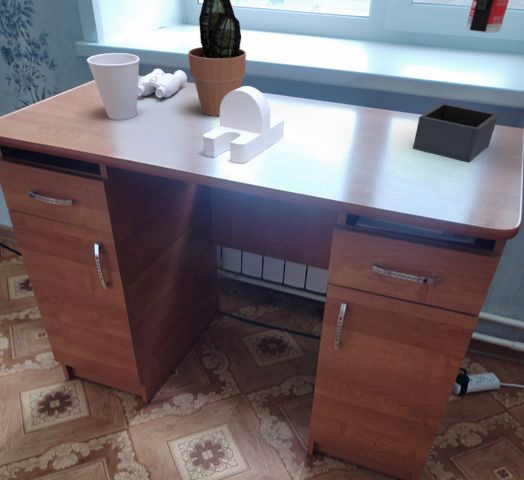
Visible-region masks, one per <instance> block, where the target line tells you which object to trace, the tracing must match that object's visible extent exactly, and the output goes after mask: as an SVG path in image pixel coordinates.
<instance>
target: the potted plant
mask: <svg viewBox="0 0 524 480" xmlns="http://www.w3.org/2000/svg"><path fill="white" fill-rule="evenodd" d="M198 23H199V25H198V26H199V38H200V44H201V46H199V47H195V48H192V49H190V50H188V53H187V54H188V64H189V73H190V76H191V77H192V78H193V80H194V84H195V89H196V93H197V96H198V101H199V105H200V109H201V112H202V113H203V114H205V115H207V116H212V117H220V105H221V102H222V100H223V98H224V97H225V96H226V95H227V94H228V93H229V92H231V91H233V90H235V89H238V88H240V87H242V82H243V78H244V77H245V76H246V61H247V58H246V57H247V53H246V50H244V49H242V48H241V41H242V32H241V24H240V20H238V18H237V17H236V16H235V12H234V8H233V5H232V2H231V0H203V1H202V5H201V9H200V13H199V18H198Z"/></svg>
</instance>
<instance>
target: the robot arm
mask: <svg viewBox="0 0 524 480" xmlns="http://www.w3.org/2000/svg"><path fill="white" fill-rule="evenodd" d="M493 2H494V0H477V3H476V7H475V11H474V15H473V19H472V23H471V27H470V30H469V31H471V30H474V31H473V32H475V31H482V32H485V31H486V28H487V24H488V20H489V17H490V13H491V9H492V5H493Z"/></svg>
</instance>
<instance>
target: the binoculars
mask: <svg viewBox="0 0 524 480" xmlns="http://www.w3.org/2000/svg"><path fill="white" fill-rule="evenodd" d="M187 81H188V77H187V73H186V72H185V71H183V70H181V69H178V70H175V71H174V72H173V74H172V73H169V72H167V73H165V72H164V70H162V69H161V68H154V69H153V70H152V71H151V72H150V73H147V74H146V75H144V76H142V77H141V78H140V79H138V94H137V97H141V96H144V97H148V96H150V95H152V94H153V93H154V94H155V96H156V97H157V98H159V99H161V98H170V97H171V96H173V95H174V94H175V93H176V92H177V91H179V89H180V87H183V86H185V85H186V84H187Z"/></svg>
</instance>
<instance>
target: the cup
mask: <svg viewBox="0 0 524 480" xmlns="http://www.w3.org/2000/svg"><path fill="white" fill-rule="evenodd" d="M140 60H141V58H140V57H139V56H138V55H136V54H132V53H126V52H125V53H124V52H123V53H122V52H111V53H99V54H95V55H91V56H89V57H88V58H87V59H86V63H87V65H88V66H89V69H90V72H91V74H92V77H93V79H94V82H95V85H96V88H97V90H98V93H99V95H100V98H101V102H102V104H103V106H104V109H105V112H106V115H107V117H108V118H109V119H111V120H114V121H117V120H118V121H126V120H131V119H134V118H136V117H137V112H138V111H137V110H138V96H137V94H138V81H139V75H140V73H139V72H140Z"/></svg>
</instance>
